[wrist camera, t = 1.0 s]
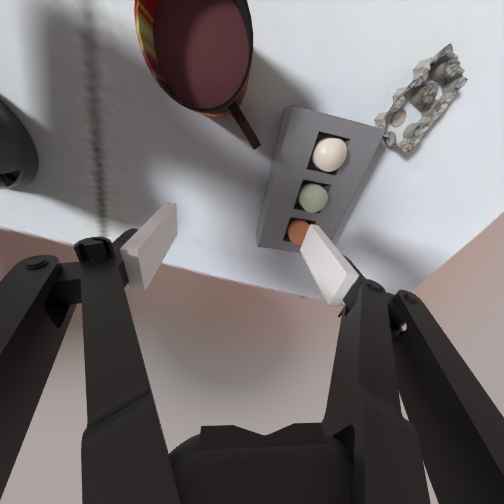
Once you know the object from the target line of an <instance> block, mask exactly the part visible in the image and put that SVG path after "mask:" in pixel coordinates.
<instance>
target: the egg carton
mask: <svg viewBox="0 0 504 504" xmlns="http://www.w3.org/2000/svg"><path fill="white" fill-rule="evenodd" d="M432 63H434V64H433V68H432V71H431V79H432V80H439V79H443V78H446V79H447V80H446V82H445V84H444V86H443V89H442V93H443V94H442V96H441V97H440V98H439V99H438V100H434V101H433V99H434V98H435V96H436V95H437V91H438V83H429V84H425V85H421V86H420V84H421V83H423V82H424V81H425V80H426V79H427V78H428V74H429V70H430V69H431V68H430V64H432ZM463 72H464V69H462V68H461V67H460V62H459V61H458V57H457V55H456V54H454V53H453V48H452V45H451V43H450V44H448V45H447V46H446V47H445V48H443V49H442V50H441V51H440V52H439V53H438V54H437V55H435V56H434V57H433V58H429V59H426V60H423V61H421V62H419V63H418V64H417V65H416V66H415V68H414V69H413V73H414V76H413V80H412V82H411V83H410V85H408V86H407V87H405V88H400V89H397V91H396V92H395V93H394V95H393V96H392V97H393V105H392V107H391V108H390V110H389V111H388V112H387V113H379V114H378V115H377V116H376V118H375V119H374V121H375V124H376V126H375V127H378V128H381V129H385V128H386V122H385V120H386V117H387V116H388V115H389V114H392V113H395V114H394V116H393V117H392V120H391V125H392V126H393V127H398V126H400V125H401V124H402V123H403V122H404V120H405V118H406V112H405V111H404V110H400V111H398V110H399V109H400V108H401V106H402V105H405V97H404V96H403V94H404V93H406V92H408V90H409V89H410V88H415V89H414V90H413V92H412V94H411V96H410V103H411V104H412V105H419V104H426V105H425V107H424V108H423V110H422V117H421V119H420V120H419V122H418V123H412V124H410V125H408V126H407V127H406V129H405V130H404V133H403V137H404V138H403V140H402V141H401V142H400V143H399V144H397V143H396V144H394V143H395V140H396V135H395V133H394V132H385V133H384V135H383V136H384V137H387V139H386V145H387V146H388V147H393V148H398V147H400V148H401V150H403V151H404V152H409V151H410V150H411V149H412V148H413V147H415V146H416V145H417V143H418V142H419V141H420V140H421V139H422V138H423V136H424V135H425V134H424V132H425V131H426V130H427V129H428V128H430V127H431V126H432V125H433V122H434V121H435V120H436V119H437V117H438V116H439V115H440V114H441V113H443V112H444V110H445V109H446V107H447V106H448V105H449V103H450V102H451V100H452V98H453V97H454V96H455V94H456V91H457V90H458V89H460V88H462V87H463V86H464V85H465V83H466V81H467V80H468V79H467V78H464V77H463V75H462V73H463ZM397 111H398V112H397Z"/></svg>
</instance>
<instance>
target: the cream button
mask: <svg viewBox="0 0 504 504" xmlns="http://www.w3.org/2000/svg"><path fill="white" fill-rule="evenodd" d="M346 155H347V147H346V144H345V143H344V142H343V141H342V140H340V139H336V138H322V139H320V140H318V141H317V142H316V143H315V144H314V147H313V150H312V153H311V157H310V160H311V162H312V164H313V165H314V166H315V167H317V168H319V169H321V170H323V171H326V172H331V171H334V170H336V169H338V168H339V167H340V166H341V165H342V164H343V162H344V161H345V159H346Z"/></svg>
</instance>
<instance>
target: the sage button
mask: <svg viewBox="0 0 504 504" xmlns="http://www.w3.org/2000/svg"><path fill="white" fill-rule="evenodd" d="M297 200H298V202H299V203H300V205H301V206H302V207H303V208H304V209H305V210H306V211H307V212H311V213H314V212H318V211H320V210H321V209H322V208H323V207H324V206H325V205H326V203H327V200H328V194H327V192H326V190H325V189H323V188H322V187H321V186H319V185H318V184H316V183H314V182H307V183H305V184H303V185H302V186H301V187H300V190H299V193H298V196H297Z"/></svg>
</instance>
